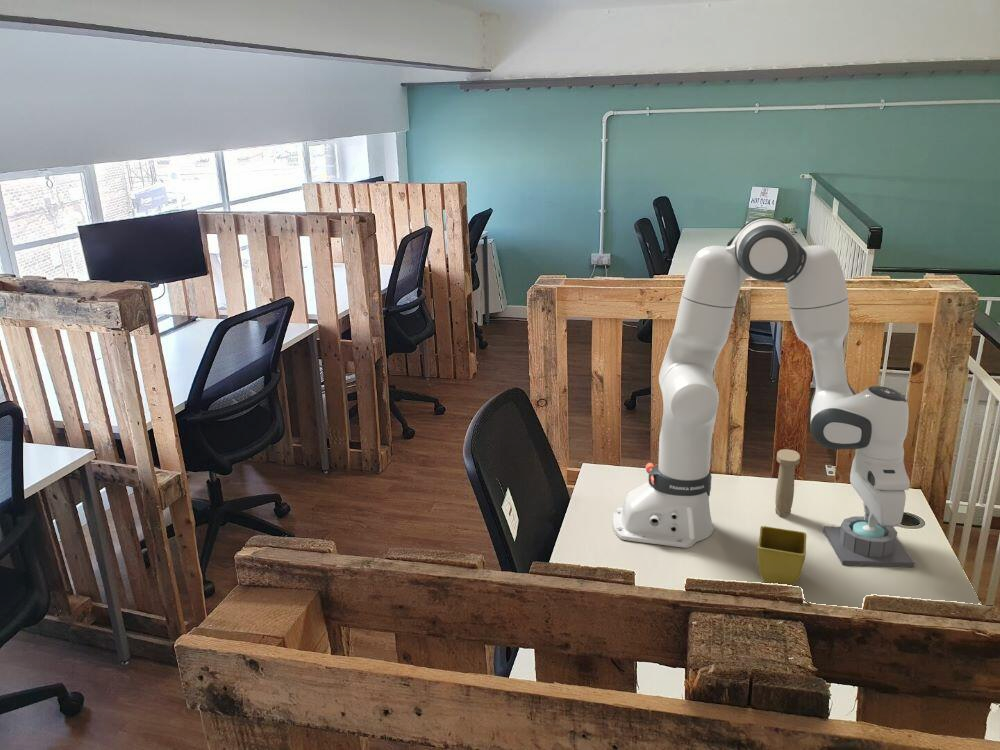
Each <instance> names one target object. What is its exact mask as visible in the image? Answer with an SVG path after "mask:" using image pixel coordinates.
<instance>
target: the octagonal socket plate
mask: <svg viewBox="0 0 1000 750" xmlns="http://www.w3.org/2000/svg"><path fill="white" fill-rule="evenodd" d="M857 522H866V521H865V520H864V516H857V515H856V516H850V517H847V518H844V519H843V521H842V522H841V524H840V526H830V525H829V526H828V525H826V526H825V525H824V526H823V527H822V531H823V533H824V536H825V537H826V538H827V540H828V542H829V543H830V546H831V548H832V549H833V551H834V553H835V554H836V556H837V558H838V560H839V561H840V564H841V565H842V566H843V565H844V566H871V567H872V566H874V567H900V568H901V567H902V568H904V567H906V568H908V567H909V568H915V565H916V563H915V561H914V559H913V558H912V557H911V555H910V554H909V553H908V552H907V550H906V549H905V547H904V546H903V545H902V543H901V542H900V540H899V539H898V538H897V537H898V531H897V530H896V528H894V527H886V526H881V525H880V524H879V522H878V525H879V526H881V527H882V528H883V529H884V531H885V532H884V537H882V538H869V537H866V536H862V535H859V534H857V533H855V532H854V531H853V525H854V524H855V523H857Z"/></svg>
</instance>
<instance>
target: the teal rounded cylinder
mask: <svg viewBox="0 0 1000 750" xmlns="http://www.w3.org/2000/svg"><path fill="white" fill-rule="evenodd" d="M853 531H854V532H855V533H857V534H859V535H862V536H866V537H869V538H882V537H884V532H885V531H884V529H883V528H882V527H881V526H879V525H878V526H877V527H869V526H868V524H867V523H866V522H857V523H855V524H854V525H853Z"/></svg>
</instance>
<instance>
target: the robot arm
mask: <svg viewBox="0 0 1000 750" xmlns="http://www.w3.org/2000/svg"><path fill="white" fill-rule="evenodd" d="M842 268H843V267H842V265H841V262H840V259H839V257H838V254H837V253H836V251H835V250H833V248H831V247H829V246H825V245H822V244H820V245H819V244H813V245H812V244H811V245H807V246H803V245H801V244H800V243H799V242H798V241H797V240H796V238H795V237H794V235H793V234H792V231H791V230H790V229H789V228H788V227H787V225H785V224H784V223H782V222H781V221H780V220H778V219H776V218H774V217H769V216H762V217H756V218H754V219H752V220H750V221H748V222H747V223H745V224H744V225H743V226H742V227H741V228H740V229H739V231H738V232H736V233H735V234H734V236H733V237H732V238H730V240H729V241H728V242H727V244H726V246H722V245H710V246H706V247H703V248H701V249H699V250H698V251H697V253H696V254H695V255H694V258H693V259H692V262H691V265H690V268H689V269H688V273H687V274H686V278H685V281H684V284H683V287H682V292H681V296H680V301H679V305H678V309H677V314H676V319H675V322H674V327H673V331H672V334H671V337H670V340H669V341H668V345H667V348H666V351H665V354H664V357H663V361H662V363H661V367H660V371H659V373H658V374H659V375H658V383H659V387H660V391H661V395H662V396H661V397H662V402H663V405H662V406H663V408H662V409H663V410H662V418H661V419H662V420H661V427H660V432H659V439H658V441H659V442H658V464H657V466H655V465H654V463H652V462H648V463H647V464H646V465H645V471H646V473H647V474H648V481H646V482H644V483H643V484H641V485H639V486H638V487H636V488H634V489H632V490H630V491H629V492H627V494H626V497H625V499H624V502H623V506H620V507H618V508H616V510H615V511H614V513H613V515H612V529H613V532H614V533H615V535H616V536H617V538H619V539H621V540H625V541H629V542H638V543H645V544H653V545H661V546H668V547H669V546H670V547H677V548H684V549H686V548H690V547H693V545H695V543H697V542H700V541H702V540H706V539H707V538H709V537H710V536H711V535H712V534H713V533H714V528H715V527H714V524H713V520H712V516H711V508H710V495H711V491H712V479H713V477H712V472H711V469H710V465H711V464H710V463H711V453H712V452H711V450H712V438H713V433H714V428H715V423H716V418H717V412H718V409H719V403H720V402H719V400H720V395H719V390H718V387H717V384H716V383H715V380H714V369H715V367H716V366H715V365H716V363H717V360H718V359H719V356H720V354H721V352H722V349H723V348H724V346H725V345H726V343H727V341H728V339H729V335H730V329H731V325H732V321H733V318H734V315H735V314H734V313H735V310H736V305H737V301H738V299H739V298H738V297H739V293H740V290H741V288H742V285H743V283H744V282H745V281H746V280H747V279H748V278H749V277H750V278H752V279H754V280H757V281H761V282H769V283H770V282H773V283H782V284H783V285H784V287H785V288H784V289H785V291H786V295H787V296H786V297H787V305H788V309H789V310H788V311H789V316H790V320H791V324H792V326H793V329H794V332H795V335H796V337H797V338H798V340H799V341H801V342H803V343H804V344H805V345H806V346H807V348H808V349H809V352H810V357H811V362H812V367H813V368H812V369H813V375H814V381H815V388H814V392H813V395H812V397H811V400H810V405H809V407H810V408H809V409H810V424H809V425H810V426H809V430H810V434H811V436H812V438H813V440H815V442H816V443H817V444H818V445H820V446H821V447H824V448H826V449H828V450H829V449H830V450H841V451H842V450H844V451H845V450H855V453H854V454H855V455H854V457H853V459H852V463H851V468H850V475H849V482H850V483H849V484H850V485H851V486H852V488H853V489H854V491H855V492H856V494H857V495H858V496H859V498H860V499H861V501H862V502H863V503H862V506H863V511H864V512H863V513H864V516H863V517H864V520H865V521H866V523H867V524H868V526H869V527H877V526H878V522H879V524H880V525H881V526H886V527H899V526H900V525H901V523H902V521H903V516H904V512H905V506H906V502H907V501H906V499H907V496H906V495H907V494H906V491H909V490H910V487H911V481H910V478H909V476H908V473H907V471H906V468H905V462H904V457H905V449H904V442H905V439H906V438H907V433H908V428H909V415H910V414H909V410H910V409H909V403H908V401H907V398H905V396H904V395H903V394H902V393H901V392H899V391H897V390H895V389H893V388H889V387H886V386H881V385H878V386H876V385H874V386H872V385H871V386H868V387H867V388H866V389H865V390H862V391H860V392H859V393H856V392H855V390H854V389H853V387H852V386H851V385H850V383H849V379H848V375H847V371H846V364H845V363H846V362H845V356H844V340H845V338H846V335H847V333H848V331H849V326H850V302H849V300H850V299H849V294H848V288H847V287H848V286H847V283H846V279H845V274H844V271H843V269H842Z"/></svg>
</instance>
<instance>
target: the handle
mask: <svg viewBox="0 0 1000 750" xmlns="http://www.w3.org/2000/svg"><path fill="white" fill-rule="evenodd" d="M800 455H801V454H800V453H799V452H798V451H796V450H794V449H779V450H778V451H777V453H776V462H777V463H779V468H778V477H777V483H776V489H775V508H774V509H775V514H776V515H778V516H779V517H785V518H787V517H788V516H790V515H791V513H792V507H793V503H794V502H793V501H794V495H795V472H796V466H797V465H799V464H800V459H801V456H800Z"/></svg>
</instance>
